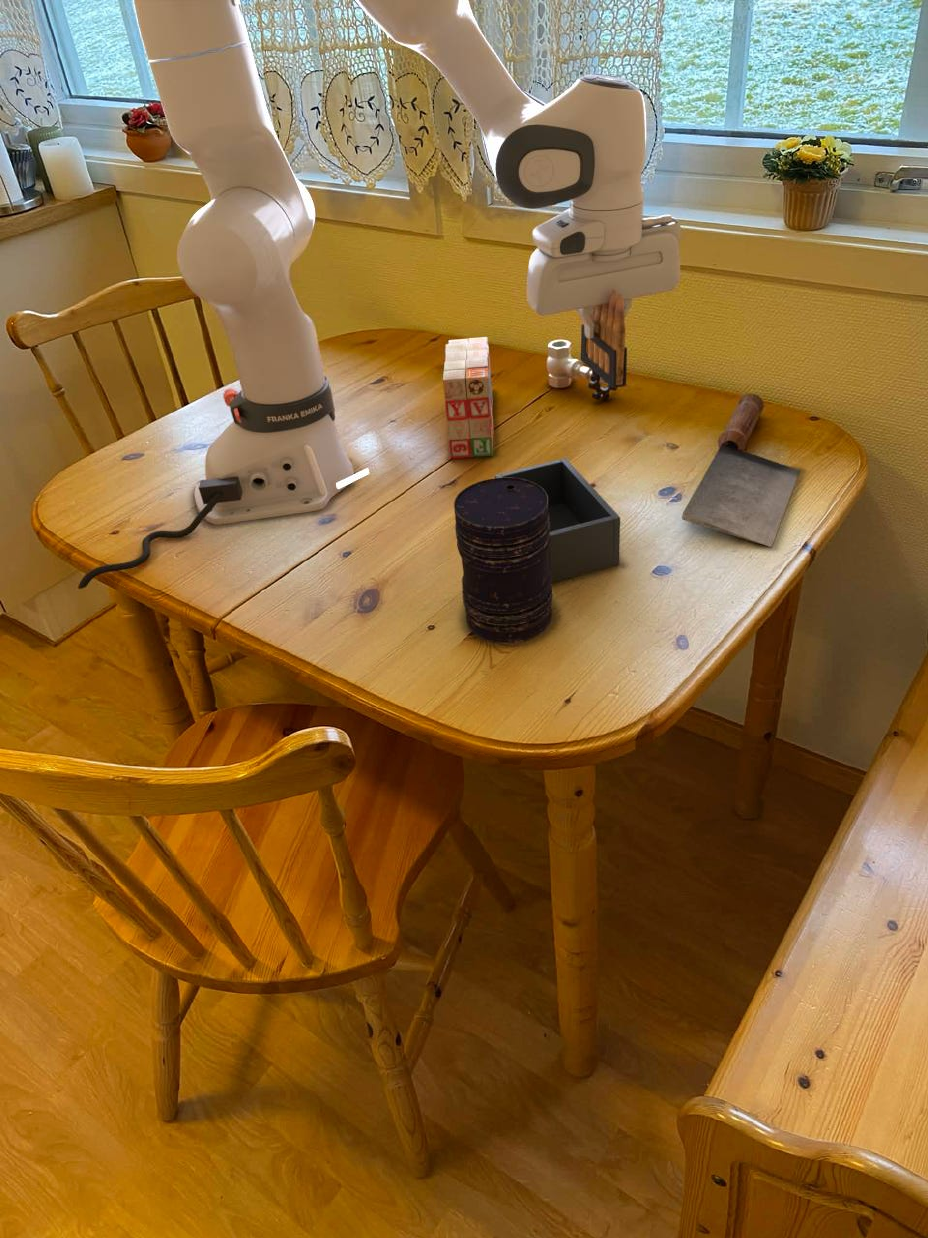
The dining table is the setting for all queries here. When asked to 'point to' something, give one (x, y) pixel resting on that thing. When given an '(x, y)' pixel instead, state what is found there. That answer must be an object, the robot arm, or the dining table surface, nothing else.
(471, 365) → the stack of blocks
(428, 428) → the dining table surface
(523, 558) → the dark blue cylinder
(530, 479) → the bin
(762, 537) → the meat cleaver
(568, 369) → the valve
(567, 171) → the robot arm
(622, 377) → the ammunition clip
